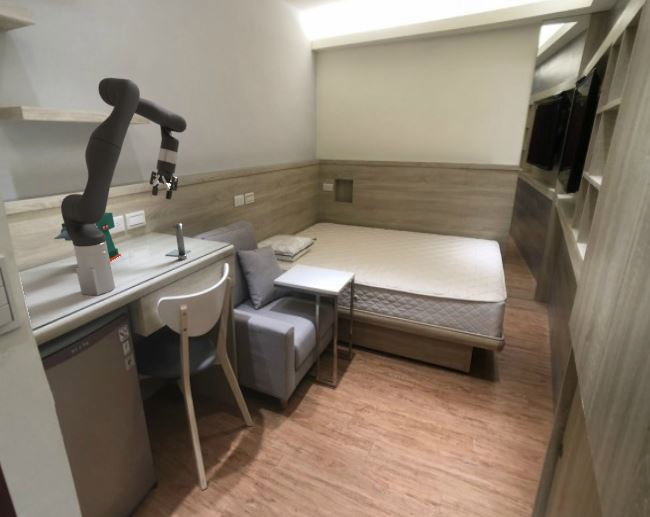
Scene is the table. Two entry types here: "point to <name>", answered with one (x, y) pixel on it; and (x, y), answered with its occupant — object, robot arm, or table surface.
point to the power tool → (103, 226)
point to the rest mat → (175, 252)
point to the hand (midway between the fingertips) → (161, 197)
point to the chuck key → (180, 241)
